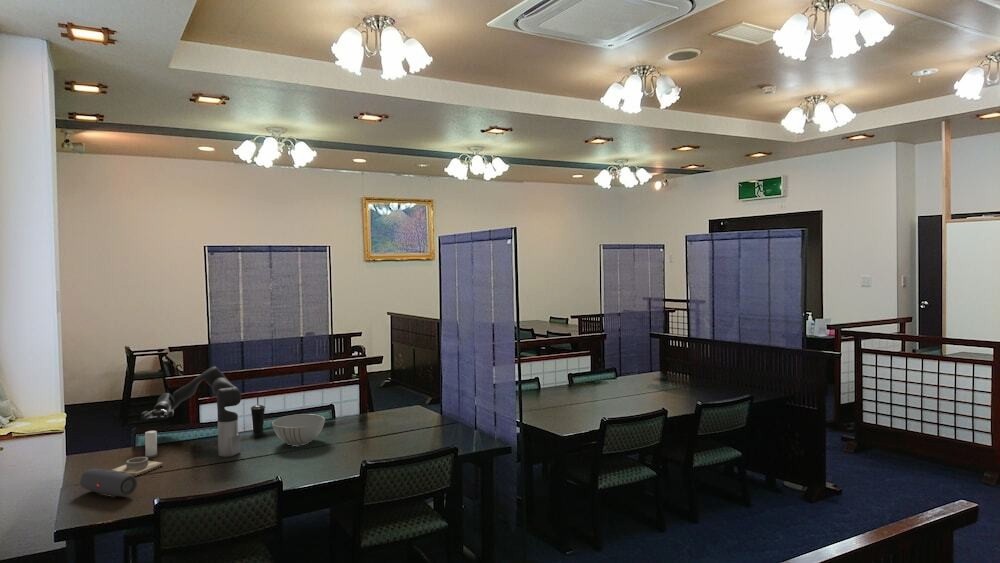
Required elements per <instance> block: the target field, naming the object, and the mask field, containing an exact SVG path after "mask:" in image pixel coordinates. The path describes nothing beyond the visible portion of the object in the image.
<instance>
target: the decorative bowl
mask: <svg viewBox="0 0 1000 563" xmlns="http://www.w3.org/2000/svg"><path fill="white" fill-rule="evenodd" d="M325 423H326V418H325V417H324V416H322V415H318V414H314V413H313V414H312V413H301V414H292V415H291V414H290V415H289V414H288V415H285V416H282V417H278V418H275V419H274V420H272V422H271V427H272V429H273V431H274V433H275V434H276V436H277V437H278V438H279V439H280V440H281V441H283V442H284V443H286V445H287V444H288V445H302V444H307V443H309V442H311V443H312V441H313V440H315V439H316V438H317V436H319V435H320V433H321V432H322V430H323V428H324V426H325ZM288 445H287V446H288Z"/></svg>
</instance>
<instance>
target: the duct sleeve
mask: <svg viewBox="0 0 1000 563" xmlns="http://www.w3.org/2000/svg"><path fill="white" fill-rule="evenodd" d="M157 433H158V431H157V430H148V431H145V432H144V442H145V444H144V445H145V446H144V448H145V455H144V457H147V458H148V459H149V458H151V459H152V458H156V457H158V435H157Z"/></svg>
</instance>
